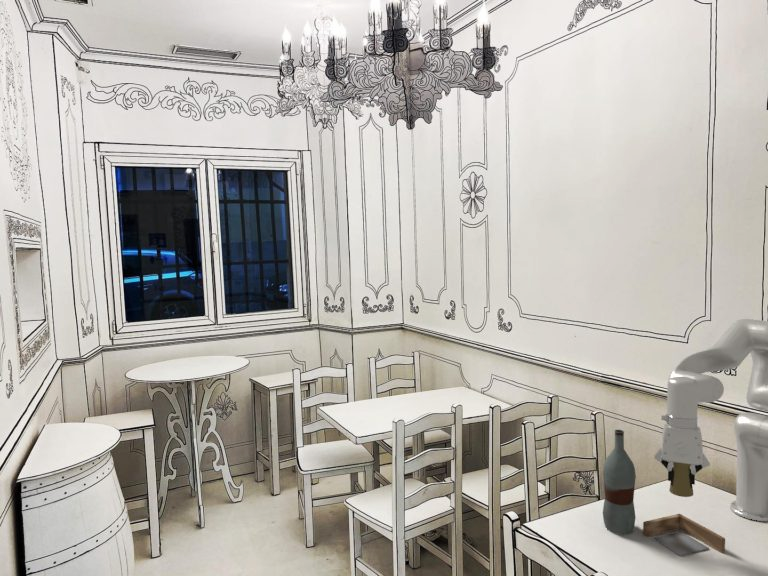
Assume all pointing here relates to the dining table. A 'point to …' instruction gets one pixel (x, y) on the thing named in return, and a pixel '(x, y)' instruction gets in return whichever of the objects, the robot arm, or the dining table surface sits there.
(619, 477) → the bottle
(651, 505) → the dining table surface
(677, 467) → the cork
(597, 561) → the dining table surface
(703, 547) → the corner arena
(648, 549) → the dining table surface
